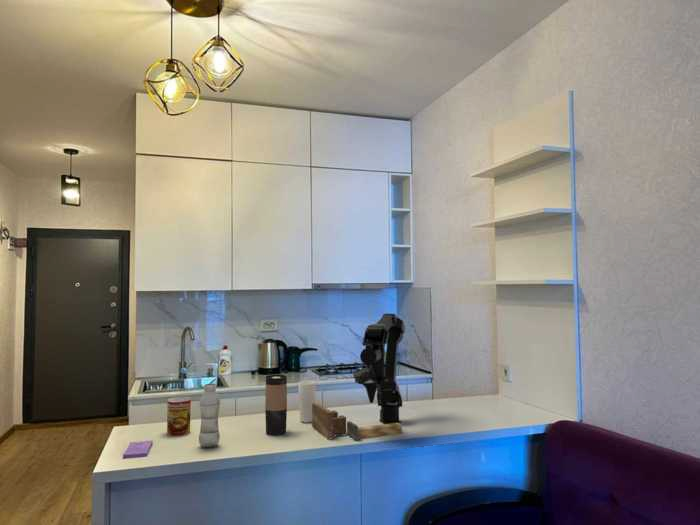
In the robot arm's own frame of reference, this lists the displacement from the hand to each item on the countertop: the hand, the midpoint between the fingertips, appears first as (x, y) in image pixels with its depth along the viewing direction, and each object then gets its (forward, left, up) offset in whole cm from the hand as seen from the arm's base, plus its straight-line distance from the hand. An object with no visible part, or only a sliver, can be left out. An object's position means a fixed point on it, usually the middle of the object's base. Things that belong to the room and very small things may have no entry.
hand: (377, 405), depth 175 cm
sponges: (+77, -15, -11) cm, 80 cm away
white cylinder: (+17, -27, -10) cm, 33 cm away
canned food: (+64, -31, -10) cm, 72 cm away
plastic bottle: (+56, -11, -10) cm, 58 cm away
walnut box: (+13, -10, -10) cm, 19 cm away
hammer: (0, 0, -10) cm, 10 cm away
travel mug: (+32, -17, -10) cm, 38 cm away
